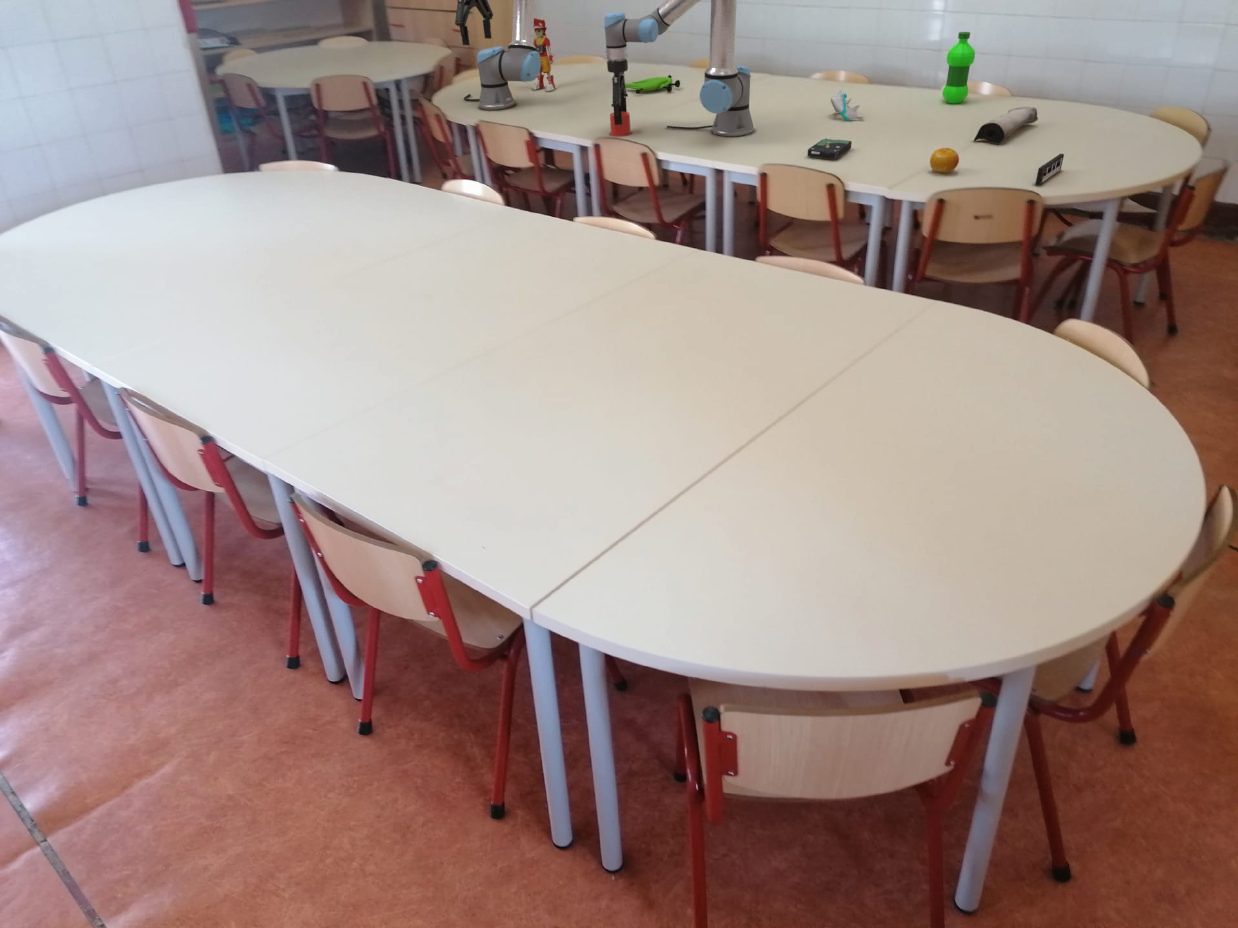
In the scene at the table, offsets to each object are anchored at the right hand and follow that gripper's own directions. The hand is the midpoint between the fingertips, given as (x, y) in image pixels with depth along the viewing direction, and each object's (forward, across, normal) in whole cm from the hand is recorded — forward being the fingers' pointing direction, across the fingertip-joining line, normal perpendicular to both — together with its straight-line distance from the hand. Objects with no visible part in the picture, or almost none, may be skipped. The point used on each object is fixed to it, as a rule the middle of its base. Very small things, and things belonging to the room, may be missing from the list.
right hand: (620, 120), depth 340 cm
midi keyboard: (+7, +59, +140) cm, 152 cm away
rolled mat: (+7, +9, +138) cm, 139 cm away
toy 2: (+5, -74, 0) cm, 74 cm away
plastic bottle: (+7, -38, +128) cm, 134 cm away
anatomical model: (+6, -18, +84) cm, 87 cm away
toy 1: (+4, -78, -47) cm, 91 cm away
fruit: (+7, +52, +110) cm, 122 cm away
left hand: (-28, -12, -55) cm, 63 cm away
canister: (+5, 0, 0) cm, 5 cm away
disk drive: (+6, +30, +76) cm, 82 cm away
